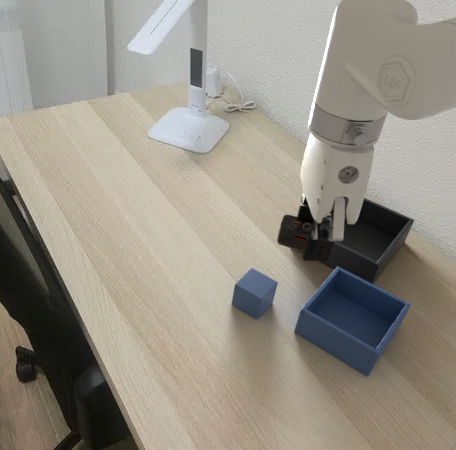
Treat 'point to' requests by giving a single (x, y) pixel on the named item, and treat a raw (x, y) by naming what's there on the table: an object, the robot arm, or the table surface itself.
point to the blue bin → (351, 319)
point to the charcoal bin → (370, 241)
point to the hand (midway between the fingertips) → (310, 243)
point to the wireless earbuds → (295, 231)
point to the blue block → (254, 293)
